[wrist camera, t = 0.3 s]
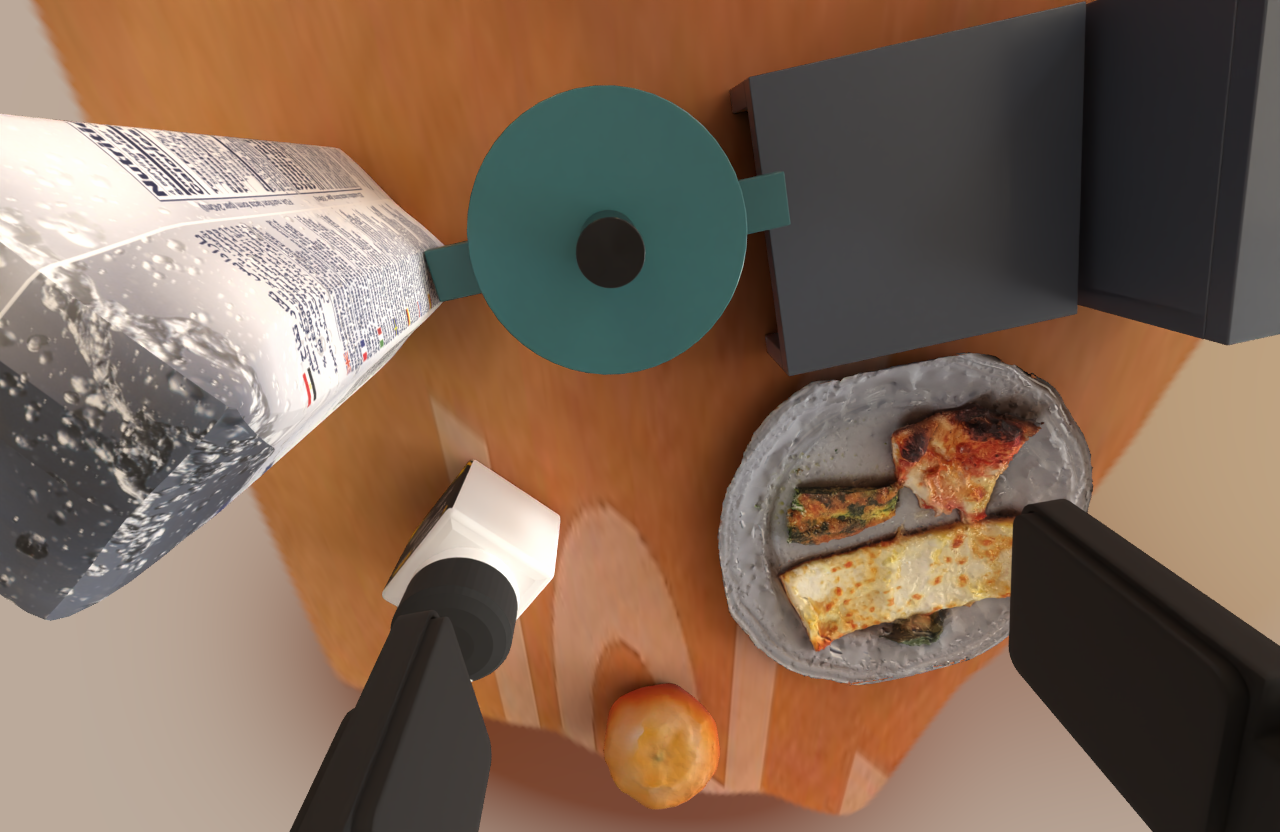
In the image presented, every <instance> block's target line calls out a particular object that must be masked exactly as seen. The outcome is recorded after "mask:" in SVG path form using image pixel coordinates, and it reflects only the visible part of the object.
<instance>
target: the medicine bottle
mask: <svg viewBox="0 0 1280 832" xmlns="http://www.w3.org/2000/svg"><path fill="white" fill-rule="evenodd" d="M559 528H560V516H559V515H558V514H557V513H555V512H554V511H552V510H551V509H549V508H548V507H546V506H545V505H543V504H542V503H540V502H539V501H537V500H536V499H534V498H533V497H531V496H530V495H528V494H527V493H525V492H524V491H522V490H521V489H519V488H518V487H516V486H515V485H513V484H512V483H510V482H509V481H507V480H506V479H504V478H503V477H501V476H499V475H498V474H496V473H495V472H493V471H492V470H490V469H489V468H487V467H486V466H484V465H483V464H481V463H480V462H478V461H477V460H471V461H469V462H468V463H467V464H466V466H465V467H464V468H463V470H462V471H461V472H460V473H459V475H458V476H457V477H456V479H455V480H454V481H453V482H452V484H451V485H450V486H449V488H448V489H447V490H446V491H445V493H444V494H443V495H442V497H441V498H440V499H439V500H438V502H437V503H436V504H435V506H434V507H433V508H432V509H431V511H430V512H429V513H428V515H427V516H426V517H425V518H424V520H423V521H422V522H421V524H420V525H419V526H418V527H417V529H416V530H415V531H414V532H413V534H412V536H411V538H410V540H409V542H408V544H407V546H406V548H405V550H404V552H403V554H402V555H401V557H400V559H399V561H398V563H397V565H396V567H395V569H394V571H393V573H392V575H391V577H390V579H389V580H388V582H387V584H386V586H385V588H384V590H383V593H382V596H383V598H384V599H385V600H386V601H388V602H390V603H392V604H393V605H395V606H397V607H398V608H397V610H396V612H395V614H394V617H393V619H392V623H391V629H392V627H393V624H394V622H395V620H396V619H397V617H399V616H401V615H406V614H412V613H417V612H423V611H429V610H435V611H436V612H437V613H438V614H439V617H440V618H441V617H449V619H450V620H451V623H452V625H453V628H454V631H455V634H456V637H457V641H458V644H459V647H460V650H461V653H462V656H463V659H464V662H465V665H466V668H467V671H468V674H469V677H470V681H471V682H472V681H475V680H478V679H481V678H483V677H485V676H487V675H489V674H491V673H492V672H493V671H495V670H496V669H497V668H498V667H499V666H500V665H501V664H502V663H503V662H504V660H505V659H506V657H507V655H508V653H509V651H510V648H511V644H512V639H513V633H514V628H515V623H516V620H517V619H518V617H519V616H520V615H521V614H522V613H523V612H524V611H525V609H526V608H527V607H528V606H529V605H530V604H531V603H532V601H533V600H534V599H535V598H536V597H537V596H538V594H539V593H540V592H541V591H542V590H543V589H544V588H545V586H546V585H547V584H548V583H549V582H550V581H551V580H552V578H553V576H554V572H555V563H556V554H557V546H558V537H559Z"/></svg>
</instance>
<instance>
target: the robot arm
mask: <svg viewBox="0 0 1280 832" xmlns="http://www.w3.org/2000/svg"><path fill="white" fill-rule="evenodd" d="M1009 653H1010V657H1011V660H1012V663H1013V664H1014V666H1015V668H1016V670H1017V671H1018V672H1019V674H1020V675H1021V676H1022V677H1023V678H1024V680H1025V681H1026V682H1027V683H1028V684H1029V686H1031V688H1032V689H1033V690H1034V691H1035V693H1036V694H1037V695H1038V696H1039V697H1040V699H1041V700H1042V701H1043V702H1044V703H1045V704H1046V706H1047V707H1048V708H1049V709H1050V710H1051V712H1052V713H1053V714H1054V715H1055V716H1056V718H1057V719H1058V720H1059V721H1060V722H1061V724H1062V725H1063V726H1064V727H1065V728H1066V729H1067V731H1068V732H1069V733H1070V734H1071V735H1072V737H1073V738H1074V739H1075V740H1076V741H1077V742H1078V744H1079V745H1080V746H1081V747H1082V748H1083V749H1084V751H1085V752H1086V753H1087V754H1088V755H1089V756H1090V758H1091V759H1092V760H1093V761H1094V763H1095V764H1096V765H1097V766H1098V767H1099V769H1101V771H1102V772H1103V773H1104V775H1105V776H1106V777H1107V778H1108V779H1109V780H1110V782H1111V783H1112V784H1113V785H1114V786H1115V787H1116V789H1117V790H1118V791H1119V792H1120V793H1121V795H1122V796H1123V797H1124V798H1125V799H1126V801H1127V802H1128V803H1129V804H1130V805H1131V807H1133V809H1134V810H1135V811H1136V812H1137V814H1138V815H1139V816H1140V817H1141V818H1142V820H1143V821H1144V822H1145V823H1146V824H1147V825H1148V827H1149V828H1150V829H1151V830H1152V831H1153V832H1280V646H1279V645H1278V644H1276V643H1275V642H1273V641H1272V640H1270V639H1269V638H1267V637H1266V636H1265V635H1263V634H1262V633H1260V632H1259V631H1257V630H1256V629H1254V628H1253V627H1252V626H1250V625H1249V624H1247V623H1246V622H1244V621H1243V620H1241V619H1240V618H1238V617H1237V616H1236V615H1234V614H1233V613H1231V612H1230V611H1228V610H1227V609H1225V608H1224V607H1223V606H1221V605H1220V604H1218V603H1217V602H1215V601H1214V600H1212V599H1211V598H1210V597H1208V596H1207V595H1205V594H1203V593H1202V592H1201V591H1199V590H1198V589H1196V588H1195V587H1194V586H1192V585H1191V584H1189V583H1188V582H1186V581H1185V580H1183V579H1182V578H1181V577H1179V576H1178V575H1176V574H1175V573H1173V572H1172V571H1170V570H1169V569H1168V568H1166V567H1165V566H1163V565H1162V564H1160V563H1159V562H1157V561H1156V560H1155V559H1153V558H1152V557H1150V556H1149V555H1147V554H1146V553H1144V552H1143V551H1142V550H1140V549H1139V548H1137V547H1136V546H1134V545H1133V544H1131V543H1130V542H1128V541H1127V540H1126V539H1124V538H1123V537H1121V536H1120V535H1118V534H1117V533H1115V532H1114V531H1113V530H1111V529H1110V528H1108V527H1107V526H1105V525H1104V524H1102V523H1101V522H1099V521H1098V520H1097V519H1095V518H1093V517H1092V516H1091V515H1089V514H1088V513H1087V512H1085V511H1084V510H1082V509H1081V508H1079V507H1078V506H1076V505H1075V504H1073V503H1072V502H1071V501H1069V500H1066V499H1056V500H1050V501H1045V502H1039V503H1033V504H1028V505H1026V506H1025V507H1024V508H1023V510H1022V513H1021V515H1018V516H1016V517H1015V519H1014V521H1013V534H1012V563H1011V592H1010V621H1009ZM490 766H491V745H490V740H489V736H488V733H487V730H486V727H485V724H484V720H483V717H482V714H481V711H480V708H479V705H478V702H477V699H476V696H475V693H474V690H473V687H472V684H471V681H470V677H469V674H468V671H467V668H466V665H465V662H464V659H463V656H462V653H461V650H460V647H459V644H458V641H457V637H456V634H455V631H454V628H453V625H452V623H451V620H450V619H449V617H441V618H440V617H439V614H438V613H437V612H436V611H435V610H429V611H423V612H417V613H412V614H406V615H401V616H399V617H397V619H396V620H395V622H394V624H393V627H392V629H391V631H390V633H389V635H388V637H387V640H386V642H385V644H384V646H383V648H382V650H381V653H380V655H379V657H378V659H377V661H376V663H375V666H374V668H373V670H372V672H371V674H370V676H369V679H368V681H367V683H366V685H365V687H364V689H363V692H362V694H361V696H360V698H359V700H358V702H357V705H356V707H355V708H354V709H352V710H351V711H349V712H348V713H347V715H346V716H345V717H344V719H343V721H342V722H341V725H340V727H339V729H338V731H337V733H336V735H335V737H334V739H333V741H332V743H331V746H330V748H329V750H328V752H327V754H326V756H325V758H324V760H323V762H322V765H321V767H320V769H319V771H318V773H317V775H316V777H315V779H314V781H313V784H312V786H311V788H310V790H309V792H308V794H307V796H306V798H305V800H304V803H303V805H302V807H301V809H300V811H299V813H298V815H297V817H296V819H295V821H294V824H293V826H292V828H291V830H290V832H478V830H479V825H480V819H481V814H482V809H483V803H484V798H485V792H486V787H487V782H488V777H489V771H490Z"/></svg>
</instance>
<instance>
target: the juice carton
mask: <svg viewBox="0 0 1280 832" xmlns="http://www.w3.org/2000/svg"><path fill="white" fill-rule="evenodd" d="M441 246H445V245H444V244H442V243H441V242H440V241H439V240H438V239H437V238H436V237H435V236H434V235H433V234H432V233H431V232H430V231H428V230H427V229H426V228H425V227H424V226H423V225H421V224H420V223H419V222H418V221H416V220H415V219H414V218H413V217H411V216H410V215H409V214H408V213H407V212H405V211H404V210H403V209H402V208H401V207H400V206H398V205H397V204H396V203H395V202H394V201H393V200H392V199H391V198H390V197H389V196H388V195H387V194H386V193H385V192H384V191H383V190H382V189H381V188H380V187H379V185H378V184H377V183H376V182H375V181H374V180H373V179H372V178H371V177H370V176H369V175H368V174H367V173H366V172H365V171H364V170H363V169H362V168H361V167H360V166H359V165H358V164H357V163H356V162H354V161H353V160H352V159H351V158H350V157H349V156H348V155H347V154H346V153H344V152H343V151H342V150H341V149H339V148H334V147H325V146H315V145H305V144H295V143H285V142H275V141H265V140H255V139H245V138H235V137H225V136H215V135H205V134H195V133H185V132H175V131H165V130H155V129H145V128H135V127H125V126H115V125H105V124H95V123H85V122H74V121H65V120H54V119H44V118H34V117H25V116H16V115H8V114H0V594H1V595H2V596H4V597H5V598H6V599H8V600H9V601H11V602H12V603H14V604H15V605H17V606H18V607H20V608H21V609H23V610H24V611H26V612H28V613H30V614H33V615H35V616H38V617H40V618H43V619H45V620H50V621H51V620H55V619H60V618H64V617H68V616H71V615H73V614H75V613H77V612H79V611H81V610H83V609H85V608H87V607H90V606H92V605H94V604H96V603H98V602H100V601H101V600H102V599H104V598H105V597H107V596H109V595H110V594H112V593H113V592H115V591H116V590H118V589H120V588H121V587H123V586H124V585H126V584H127V583H129V582H130V581H132V580H133V579H134V578H136V577H137V576H138V575H140V574H141V573H142V572H143V571H145V570H146V569H147V568H149V567H150V566H151V565H152V564H154V563H155V562H157V561H158V560H159V559H160V558H162V557H163V556H164V555H165V554H167V553H168V552H169V551H170V550H171V549H173V548H174V547H175V546H176V545H178V544H179V543H180V542H181V541H182V540H184V539H185V538H186V537H187V536H189V535H190V534H192V533H193V532H194V531H196V530H197V529H199V528H200V527H201V526H202V525H204V524H205V523H206V522H208V521H209V520H210V519H211V518H213V517H214V516H215V515H216V514H218V513H219V512H220V511H221V510H222V509H224V508H225V507H226V506H227V505H228V504H230V503H231V502H232V501H233V500H234V499H235V498H236V497H238V496H239V494H241V493H242V492H243V491H244V490H246V489H247V488H248V487H249V486H250V485H251V484H252V483H254V482H255V481H256V480H257V479H258V478H259V477H260V476H262V475H263V474H264V473H265V472H266V471H267V470H268V469H269V468H271V467H272V466H273V465H274V464H275V463H276V462H277V461H278V460H280V459H281V458H282V457H283V456H284V455H285V454H286V453H287V452H289V451H290V450H291V449H292V448H293V447H294V446H295V445H296V444H298V443H299V442H300V441H301V440H302V439H303V438H304V437H305V436H307V435H308V434H309V433H310V432H311V431H312V430H313V429H314V428H316V427H317V426H318V425H319V424H320V423H321V422H322V421H323V420H324V419H326V418H327V417H328V416H329V415H330V414H331V413H332V412H333V411H335V410H336V409H337V408H338V407H339V406H340V405H341V404H342V403H344V402H345V401H346V400H347V399H348V398H349V397H350V396H351V395H352V394H354V393H355V392H356V391H357V390H358V389H359V388H360V387H361V386H363V385H364V384H365V383H366V382H367V381H368V380H369V379H370V378H371V377H372V376H374V375H375V374H376V373H377V372H378V371H379V370H380V369H381V368H382V367H383V366H384V365H385V364H386V363H387V362H388V361H389V360H390V359H391V358H392V357H393V356H394V355H395V353H396V352H397V351H398V350H399V349H400V347H401V346H402V345H403V343H404V342H405V341H406V340H407V338H408V337H409V336H410V335H411V334H412V332H413V331H414V330H415V329H416V328H418V327H419V326H420V325H421V324H422V323H423V322H424V321H425V320H426V319H427V318H428V317H429V316H430V315H431V314H432V313H433V312H434V311H435V310H436V309H437V308H438V307H439V306H440V305H441V304H442V302H440V301H439V298H438V295H437V292H436V289H435V286H434V283H433V279H432V276H431V273H430V270H429V267H428V264H427V261H426V257H425V254H424V252H425V251H426V250H429V249H432V248H436V247H441Z"/></svg>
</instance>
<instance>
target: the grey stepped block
mask: <svg viewBox="0 0 1280 832" xmlns="http://www.w3.org/2000/svg"><path fill="white" fill-rule="evenodd" d="M729 92H730V99H731V106H732V113H738V112H743V111H747V110H748V116H749V124H750V131H751V138H752V146H753V153H754V160H755V167H756V175H757V176H759V175H764V174H768V173H773V172H777V171H783V172H784V175H785V183H786V191H787V199H788V207H789V216H790V225H788V226H783V227H779V228H774V229H770V230H765V231H764V233H765V240H766V248H767V255H768V262H769V270H770V277H771V284H772V291H773V299H774V306H775V313H776V321H777V328H778V332H777V333H772V334H768V335H765V340H766V347H767V353H768V354H769V355H770V356H771V357H772V358H773V359H774V360H775V361H776V362H777V363H778V365H779V366H780V367H781V368H782V369H783V370H784V371H785V372H786V374H787V375H788V376H793V375H797V374H802V373H806V372H811V371H816V370H820V369H825V368H830V367H834V366H839V365H843V364H848V363H853V362H857V361H862V360H866V359H871V358H876V357H880V356H885V355H889V354H894V353H899V352H903V351H908V350H912V349H917V348H922V347H926V346H931V345H936V344H940V343H945V342H949V341H954V340H959V339H963V338H968V337H972V336H977V335H982V334H986V333H991V332H995V331H1000V330H1005V329H1009V328H1014V327H1019V326H1023V325H1028V324H1032V323H1037V322H1042V321H1046V320H1051V319H1055V318H1060V317H1065V316H1069V315H1074V314H1077V305H1081V306H1084V307H1088V308H1092V309H1095V310H1099V311H1103V312H1106V313H1110V314H1114V315H1117V316H1121V317H1125V318H1128V319H1132V320H1136V321H1139V322H1143V323H1147V324H1150V325H1154V326H1157V327H1161V328H1165V329H1168V330H1172V331H1176V332H1179V333H1183V334H1187V335H1190V336H1194V337H1198V338H1201V339H1206V340H1210V341H1213V342H1217V343H1221V344H1224V345H1232V344H1236V343H1241V342H1246V341H1250V340H1255V339H1259V338H1264V337H1268V336H1273V335H1278V334H1280V0H1096V1H1093V2H1090V3H1087V4H1086V2H1080V3H1076V4H1071V5H1067V6H1062V7H1058V8H1054V9H1049V10H1045V11H1040V12H1036V13H1031V14H1027V15H1023V16H1018V17H1014V18H1009V19H1005V20H1000V21H996V22H992V23H987V24H983V25H978V26H974V27H969V28H965V29H961V30H956V31H952V32H947V33H943V34H938V35H934V36H929V37H925V38H921V39H916V40H912V41H907V42H903V43H898V44H894V45H890V46H885V47H881V48H876V49H872V50H867V51H863V52H859V53H854V54H850V55H845V56H841V57H836V58H832V59H828V60H823V61H819V62H814V63H810V64H805V65H801V66H797V67H792V68H788V69H783V70H779V71H774V72H770V73H766V74H761V75H757V76H752V77H749V78H747V79H746V80H744V81H743V82H741V83H740V84H738V85H737V86H735V87H734V88H732V89H730V91H729Z"/></svg>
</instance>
